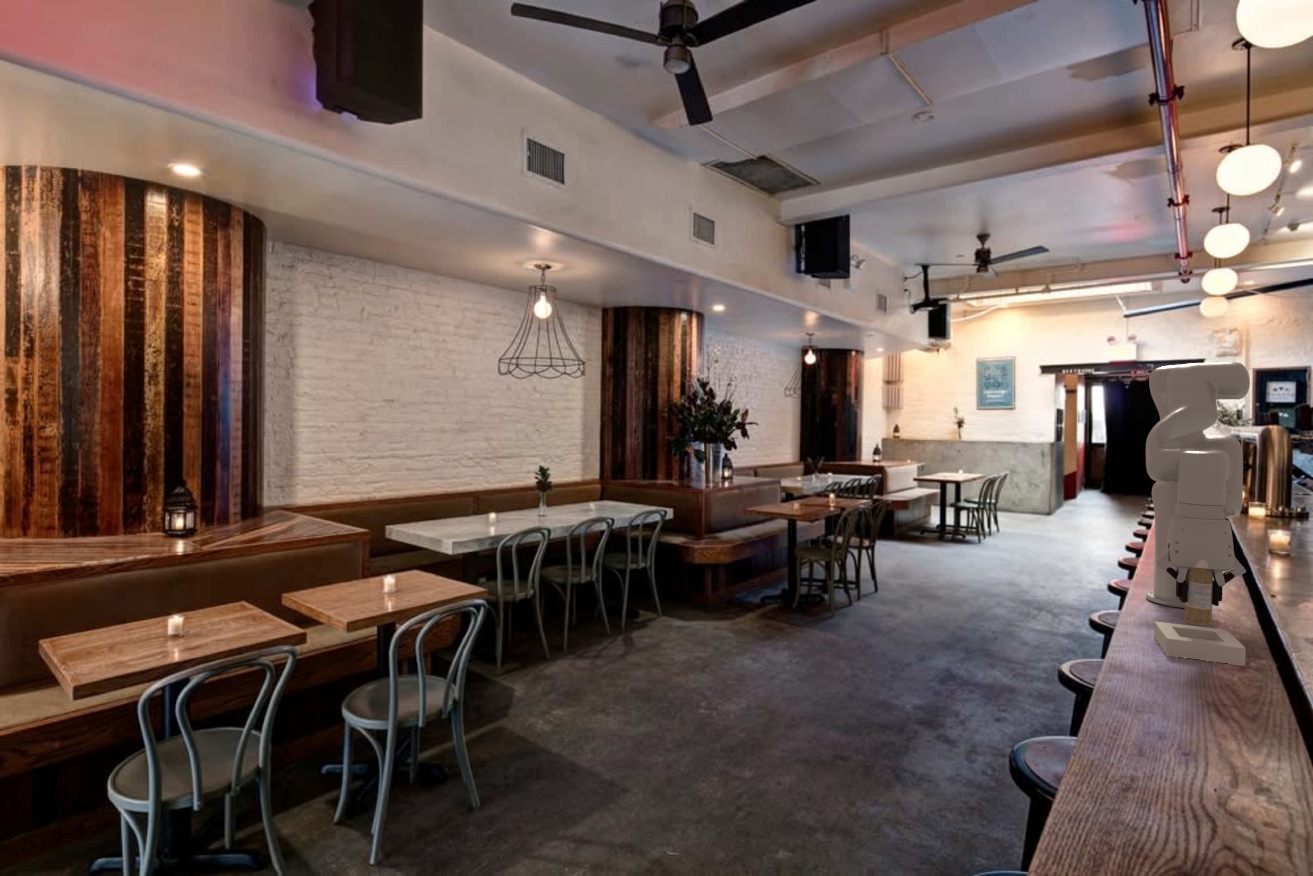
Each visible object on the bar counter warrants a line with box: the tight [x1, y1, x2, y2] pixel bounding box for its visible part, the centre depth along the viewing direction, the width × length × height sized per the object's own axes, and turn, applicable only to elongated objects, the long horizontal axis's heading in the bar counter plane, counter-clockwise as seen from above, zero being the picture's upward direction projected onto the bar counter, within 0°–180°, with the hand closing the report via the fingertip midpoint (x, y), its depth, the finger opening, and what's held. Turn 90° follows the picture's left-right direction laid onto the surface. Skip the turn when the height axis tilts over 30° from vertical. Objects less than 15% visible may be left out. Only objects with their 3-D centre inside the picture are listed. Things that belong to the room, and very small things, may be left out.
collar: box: [1153, 621, 1247, 667], centre depth 134 cm, size 12×12×4 cm
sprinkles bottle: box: [1183, 560, 1213, 627], centre depth 133 cm, size 5×5×13 cm
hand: (1198, 601), depth 133 cm, fingers closed on sprinkles bottle, 4 cm apart
